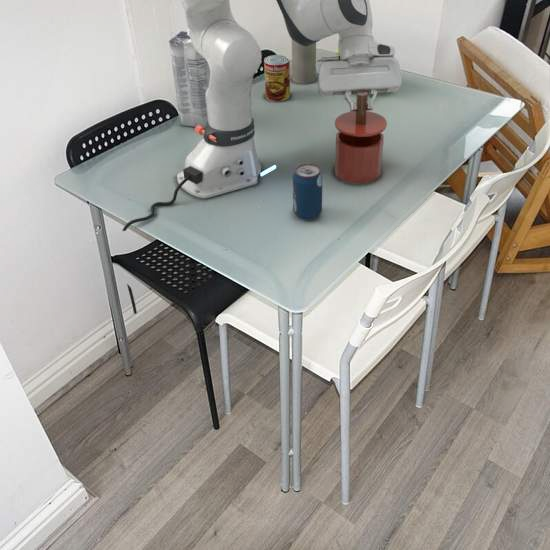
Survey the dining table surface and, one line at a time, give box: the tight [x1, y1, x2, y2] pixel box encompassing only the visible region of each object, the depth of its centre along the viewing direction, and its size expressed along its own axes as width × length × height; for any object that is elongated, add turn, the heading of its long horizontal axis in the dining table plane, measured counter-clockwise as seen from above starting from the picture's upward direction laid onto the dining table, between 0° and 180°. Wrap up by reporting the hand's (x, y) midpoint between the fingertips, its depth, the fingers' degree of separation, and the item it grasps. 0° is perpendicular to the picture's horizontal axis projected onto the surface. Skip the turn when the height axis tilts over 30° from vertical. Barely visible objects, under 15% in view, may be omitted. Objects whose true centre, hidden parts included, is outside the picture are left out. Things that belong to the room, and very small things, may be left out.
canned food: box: [263, 54, 291, 103], centre depth 196 cm, size 8×8×12 cm
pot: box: [334, 131, 385, 184], centre depth 159 cm, size 12×12×10 cm
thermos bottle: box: [291, 38, 317, 85], centre depth 201 cm, size 8×8×28 cm
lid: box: [334, 91, 388, 137], centre depth 151 cm, size 13×13×9 cm
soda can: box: [292, 163, 324, 221], centre depth 145 cm, size 7×7×12 cm
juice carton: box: [168, 28, 210, 128], centre depth 179 cm, size 9×10×27 cm
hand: (362, 110), depth 151 cm, fingers closed on lid, 2 cm apart
